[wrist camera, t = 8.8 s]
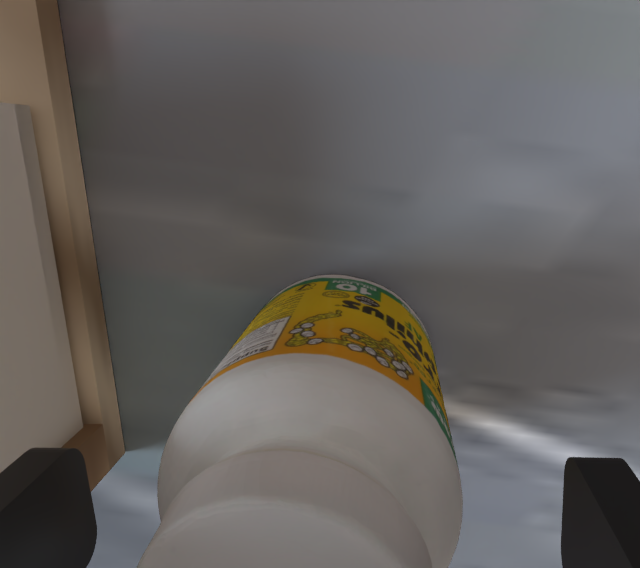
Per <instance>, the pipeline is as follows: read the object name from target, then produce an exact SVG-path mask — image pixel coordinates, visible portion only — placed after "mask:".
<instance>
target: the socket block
mask: <svg viewBox="0 0 640 568" xmlns="http://www.w3.org/2000/svg"><path fill="white" fill-rule="evenodd" d="M82 428H83V423H82V417H81V411H80V405H79V399H78V393H77V387H76V381H75V375H74V369H73V363H72V357H71V351H70V345H69V339H68V333H67V327H66V321H65V315H64V309H63V303H62V297H61V291H60V285H59V279H58V273H57V267H56V261H55V255H54V249H53V243H52V238H51V232H50V226H49V220H48V214H47V208H46V202H45V196H44V190H43V184H42V178H41V172H40V166H39V160H38V154H37V148H36V142H35V136H34V130H33V124H32V118H31V112H30V106H28V105H19V104H11V103H2V102H0V473H1V472H2V471H3V470H4V469H6V468H7V467H8V466H9V465H10V464H12V463H13V462H14V461H15V460H16V459H18V458H19V457H20V456H21V455H22V454H24V453H25V452H26V451H27V450H29V449H31V448H61V447H62V446H63V445H64V444H65V443H66V442H68V441H69V440H70V439H71V438H72V437H73V436H74V435H75V434H76V433H78V432H79V431H80V430H81V429H82Z"/></svg>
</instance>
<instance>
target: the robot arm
mask: <svg viewBox="0 0 640 568" xmlns="http://www.w3.org/2000/svg"><path fill="white" fill-rule="evenodd" d="M96 538H97V525H96V519H95V514H94V508H93V503H92V497H91V492H90V486H89V481H88V475H87V470H86V464H85V460H84V457H83V455H82V453H81V452H80V451H79V450H78V449H76V448H31V449H29V450H27V451H26V452H25V453H24V454H22V455H21V456H20V457H19V458H18V459H16V460H15V461H14V462H13V463H12V464H10V465H9V466H8V467H7V468H6V469H4V470H3V471H2V472H1V473H0V568H86V567H87V565H88V564H89V562H90V560H91V557H92V555H93V552H94V549H95V544H96ZM561 556H562V566H563V568H640V481H639V480H638V478H637V477H636V475H635V474H634V473H633V471H632V470H631V468H630V467H629V466H628V464H627V463H626V462H625V460H623V459H621V458H581V457H570V458H568V459H567V461H566V464H565V471H564V491H563V513H562V534H561Z"/></svg>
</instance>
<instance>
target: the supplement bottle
mask: <svg viewBox="0 0 640 568" xmlns="http://www.w3.org/2000/svg"><path fill="white" fill-rule="evenodd" d="M462 505H463V500H462V489H461V480H460V474H459V469H458V465H457V460H456V456H455V451H454V446H453V442H452V437H451V434H450V429H449V424H448V419H447V415H446V410H445V407H444V401H443V395H442V392H441V387H440V382H439V378H438V373H437V366H436V363H435V358H434V354H433V350H432V346H431V342H430V339H429V336H428V334H427V332H426V329H425V327H424V326H423V324H422V322H421V321H420V319H419V318H418V316H417V315H416V314H415V312H414V311H413V310H412V309H411V308H410V306H409V305H408V304H407V303H406V302H405V301H403V300H402V299H401V298H400V297H399V296H398V295H397V294H395V293H394V292H392V291H390V290H389V289H387V288H385V287H383V286H381V285H379V284H376V283H374V282H371V281H367V280H364V279H359V278H355V277H350V276H344V275H318V276H314V277H309V278H306V279H303V280H301V281H298V282H296V283H293V284H292V285H290V286H288V287H286V288H285V289H283V290H282V291H280V292H279V293H278V294H276V295H275V296H274V297H273V298H272V299H271V300H270V301H269V302H268V303H267V304H266V305H265V306H264V307H263V308H262V310H261V311H260V312H259V313H258V314H257V316H256V317H255V318H254V319H253V321H252V322H251V323H250V325H249V326H248V327H247V329H246V330H245V331H244V332H243V334H242V335H241V336H240V338H239V339H238V340H237V341H236V343H235V344H234V345H233V347H232V348H231V349H230V351H229V352H228V353H227V355H226V356H225V357H224V358H223V360H222V361H221V362H220V363H219V365H218V366H217V367H216V369H215V370H214V371H213V372H212V374H211V375H210V376H209V378H208V379H207V380H206V382H205V383H204V384H203V386H202V387H201V388H200V389H199V391H198V392H197V393H196V395H195V396H194V397H193V398H192V400H191V401H190V402H189V404H188V405H187V406H186V408H185V409H184V411H183V412H182V414H181V415H180V417H179V419H178V420H177V422H176V423H175V425H174V427H173V429H172V432H171V434H170V436H169V438H168V440H167V442H166V445H165V448H164V451H163V455H162V458H161V463H160V468H159V475H158V506H159V514H160V519H161V524H160V526H159V528H158V530H157V531H156V533H155V535H154V537H153V538H152V540H151V542H150V544H149V545H148V547H147V549H146V550H145V552H144V554H143V556H142V558H141V559H140V562H139V564H138V566H137V568H448V566H449V564H450V562H451V560H452V557H453V554H454V552H455V549H456V546H457V543H458V539H459V534H460V529H461V522H462Z"/></svg>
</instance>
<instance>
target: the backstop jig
mask: <svg viewBox="0 0 640 568" xmlns="http://www.w3.org/2000/svg"><path fill="white" fill-rule="evenodd" d="M0 102H2V103H11V104H19V105H28V106H30V112H31V118H32V124H33V130H34V136H35V142H36V148H37V154H38V160H39V166H40V172H41V178H42V184H43V190H44V196H45V202H46V208H47V214H48V220H49V226H50V232H51V238H52V243H53V249H54V255H55V261H56V267H57V273H58V279H59V285H60V291H61V297H62V303H63V309H64V315H65V321H66V327H67V333H68V339H69V345H70V351H71V357H72V363H73V369H74V375H75V381H76V387H77V393H78V399H79V405H80V411H81V417H82V423H83V428H82V429H81V430H80V431H79V432H78V433H76V434H75V435H74V436H73V437H72V438H71V439H70V440H69V441H68V442H66V443H65V444H64V445H63V446H62V447H61V448H76V449H78V450H79V451H80V452H81V453H82V455H83V457H84V460H85V464H86V470H87V475H88V481H89V486H90V492H91V491H92V490H93V489H94V488H95V487H96V485H97V484H98V483H99V482H100V481H101V480H102V479H103V477H104V476H105V475H106V474H107V473H108V472H109V471H110V469H111V468H112V467H113V466H114V465H115V464H116V463H117V461H118V460H119V459H120V458H121V457H122V456H123V455H124V454H125V448H124V441H123V434H122V428H121V421H120V415H119V408H118V401H117V395H116V388H115V381H114V375H113V368H112V362H111V355H110V348H109V342H108V335H107V328H106V322H105V315H104V309H103V302H102V295H101V289H100V282H99V275H98V269H97V262H96V256H95V249H94V242H93V236H92V229H91V222H90V216H89V209H88V202H87V196H86V189H85V183H84V176H83V169H82V163H81V156H80V149H79V143H78V136H77V130H76V123H75V116H74V110H73V103H72V96H71V90H70V83H69V77H68V70H67V63H66V57H65V50H64V43H63V37H62V30H61V24H60V17H59V10H58V4H57V0H0Z"/></svg>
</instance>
